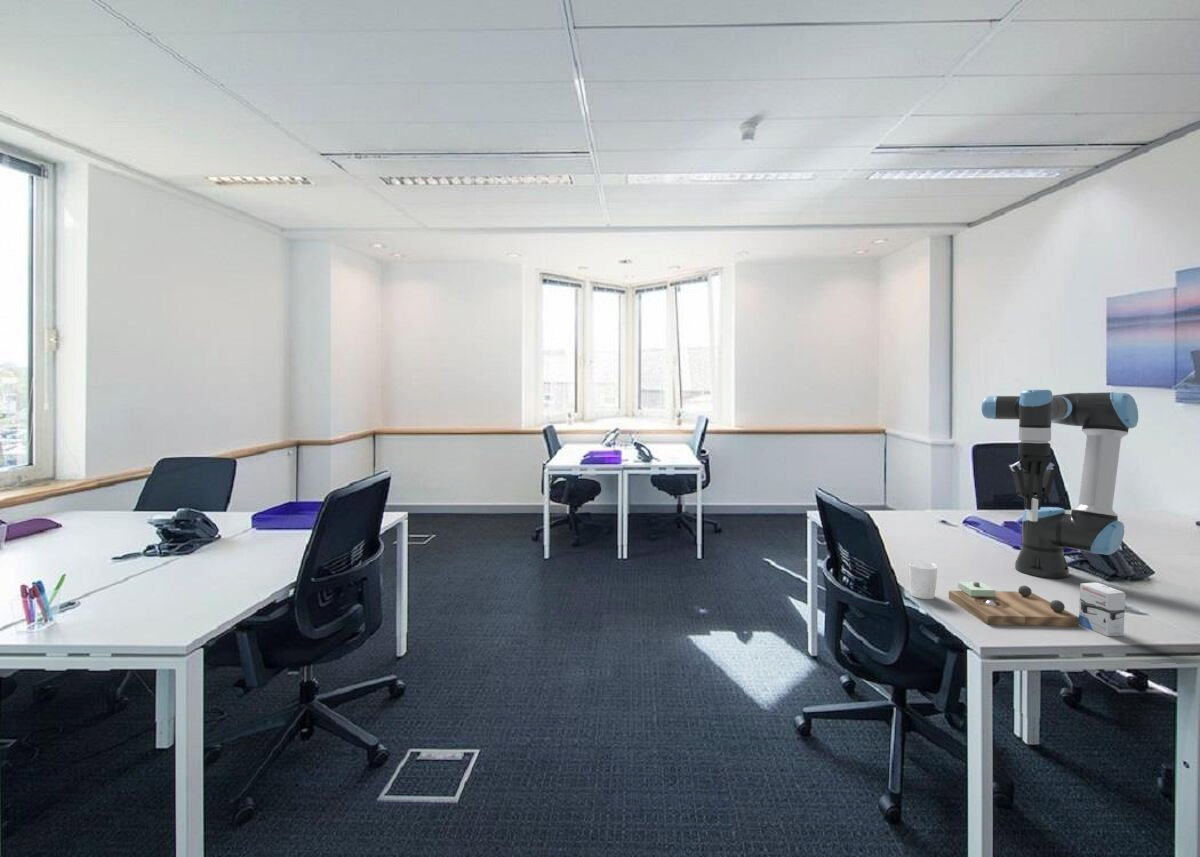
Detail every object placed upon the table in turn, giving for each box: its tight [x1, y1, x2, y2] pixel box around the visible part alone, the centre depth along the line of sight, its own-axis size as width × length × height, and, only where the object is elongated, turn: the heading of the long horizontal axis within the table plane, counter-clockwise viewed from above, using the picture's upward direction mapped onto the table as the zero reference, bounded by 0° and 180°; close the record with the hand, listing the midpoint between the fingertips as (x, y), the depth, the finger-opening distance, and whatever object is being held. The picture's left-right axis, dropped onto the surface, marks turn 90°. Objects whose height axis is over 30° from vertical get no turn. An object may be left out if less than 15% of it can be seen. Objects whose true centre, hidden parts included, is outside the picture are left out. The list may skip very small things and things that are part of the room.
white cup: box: [908, 561, 938, 600], centre depth 178 cm, size 8×8×10 cm
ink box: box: [1078, 582, 1126, 637], centre depth 151 cm, size 8×5×12 cm, turn 5°
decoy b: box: [1050, 599, 1066, 612], centre depth 157 cm, size 3×3×3 cm
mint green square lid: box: [957, 581, 996, 597], centre depth 172 cm, size 7×7×3 cm
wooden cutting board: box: [948, 590, 1080, 627], centre depth 164 cm, size 24×20×2 cm
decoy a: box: [1017, 585, 1033, 597], centre depth 169 cm, size 3×3×3 cm
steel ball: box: [985, 600, 997, 606], centre depth 165 cm, size 3×3×3 cm
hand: (1031, 520), depth 166 cm, fingers closed
